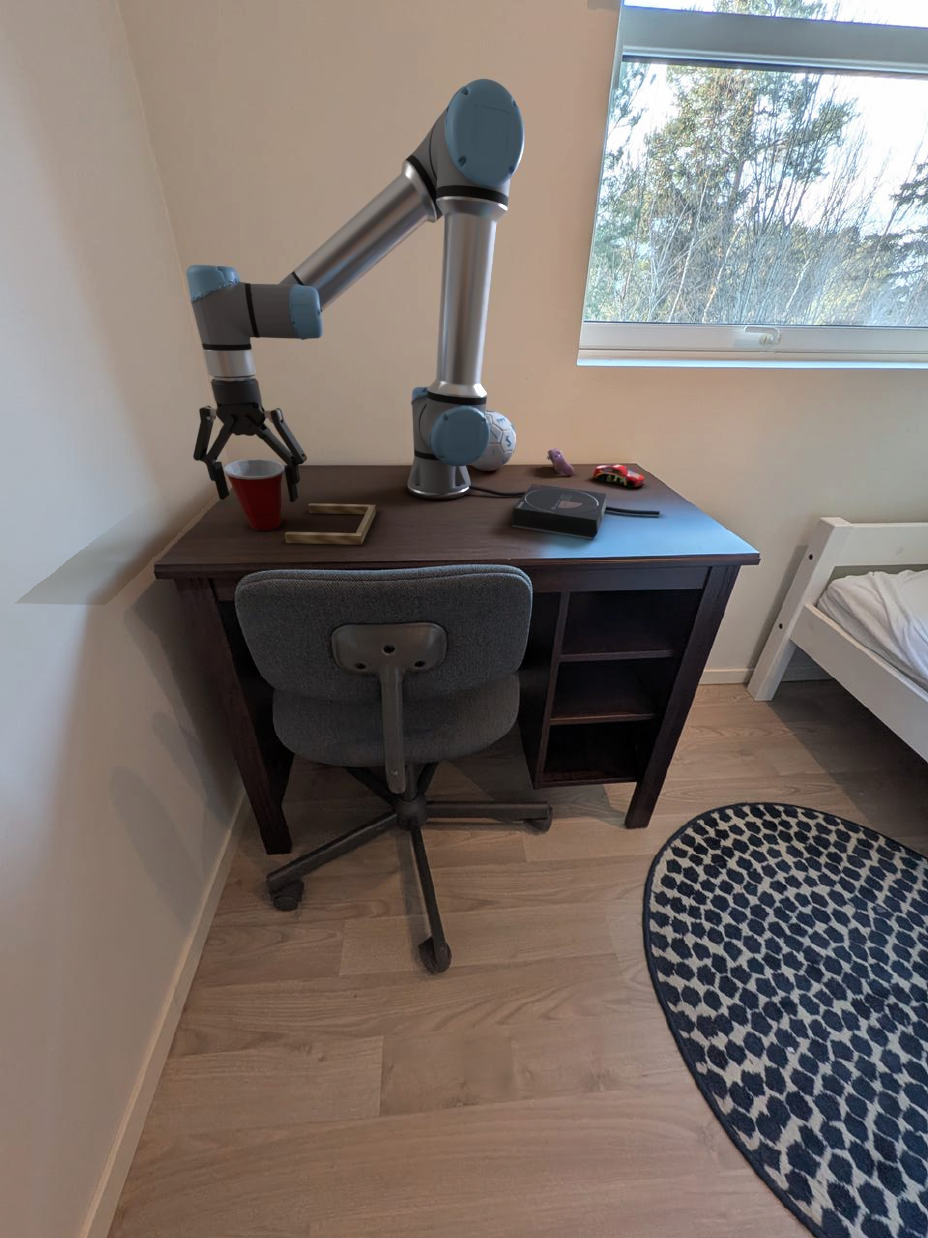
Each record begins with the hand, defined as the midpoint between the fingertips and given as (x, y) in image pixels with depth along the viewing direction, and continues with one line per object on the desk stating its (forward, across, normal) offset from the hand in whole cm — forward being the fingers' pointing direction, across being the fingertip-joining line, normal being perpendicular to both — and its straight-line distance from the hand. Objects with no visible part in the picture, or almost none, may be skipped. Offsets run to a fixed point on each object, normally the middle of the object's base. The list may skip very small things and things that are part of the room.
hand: (259, 498), depth 93 cm
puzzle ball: (+5, -46, -42) cm, 62 cm away
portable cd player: (+5, -61, -7) cm, 62 cm away
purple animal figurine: (+5, -66, -42) cm, 78 cm away
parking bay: (+5, -13, 0) cm, 14 cm away
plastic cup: (+6, 0, 0) cm, 6 cm away
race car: (+5, -80, -33) cm, 87 cm away
